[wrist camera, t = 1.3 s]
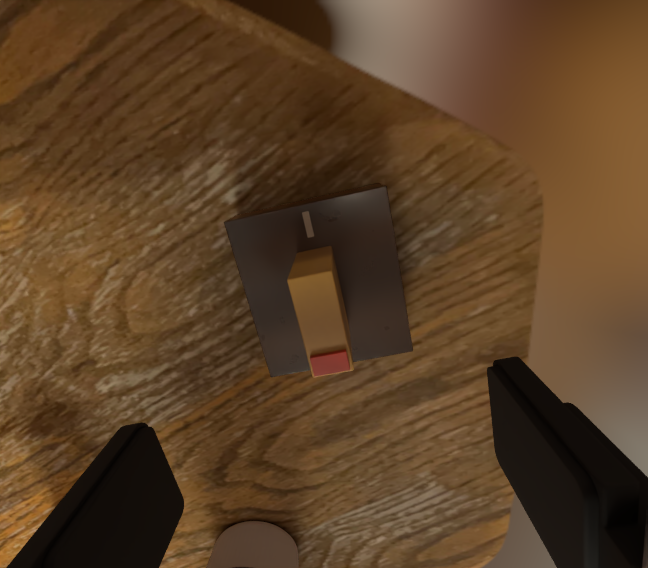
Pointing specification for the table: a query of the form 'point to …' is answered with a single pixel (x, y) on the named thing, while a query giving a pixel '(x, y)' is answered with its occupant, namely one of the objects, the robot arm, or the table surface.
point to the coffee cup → (254, 547)
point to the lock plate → (351, 263)
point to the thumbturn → (321, 312)
